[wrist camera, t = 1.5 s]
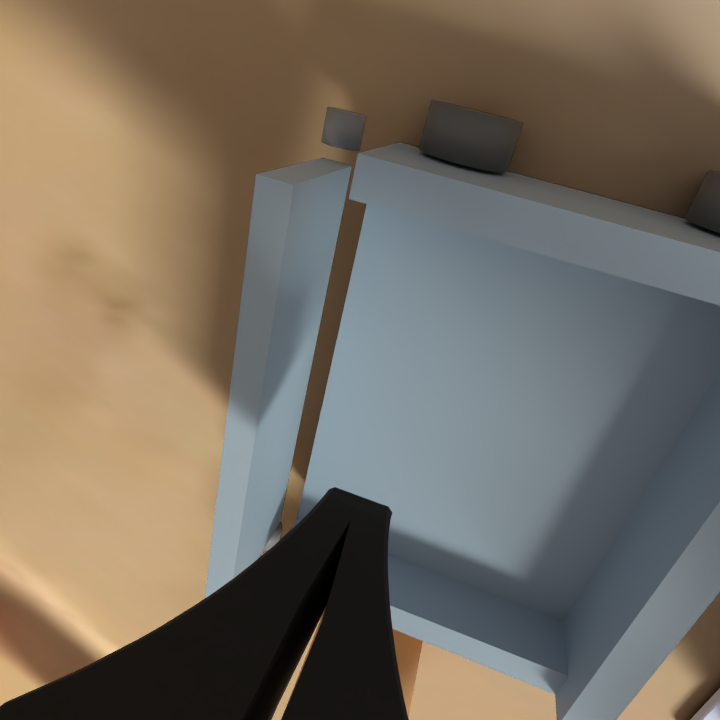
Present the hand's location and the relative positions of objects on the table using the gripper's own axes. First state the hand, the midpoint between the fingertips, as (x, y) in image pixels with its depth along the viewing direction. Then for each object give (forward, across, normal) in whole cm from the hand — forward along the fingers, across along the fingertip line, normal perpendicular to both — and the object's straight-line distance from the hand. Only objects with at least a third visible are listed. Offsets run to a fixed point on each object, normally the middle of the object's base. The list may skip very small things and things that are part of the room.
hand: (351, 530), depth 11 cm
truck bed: (+8, -3, 0) cm, 9 cm away
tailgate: (+6, +3, 0) cm, 6 cm away
